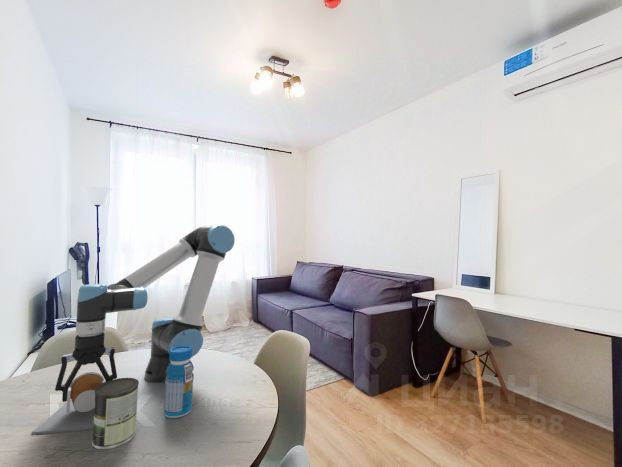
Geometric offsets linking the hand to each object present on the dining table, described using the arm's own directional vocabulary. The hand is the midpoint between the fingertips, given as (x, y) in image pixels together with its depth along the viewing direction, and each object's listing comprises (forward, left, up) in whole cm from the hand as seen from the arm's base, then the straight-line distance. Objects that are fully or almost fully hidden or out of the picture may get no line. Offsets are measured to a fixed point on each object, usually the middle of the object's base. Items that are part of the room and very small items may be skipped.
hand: (86, 406), depth 94 cm
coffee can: (-14, +14, -2) cm, 20 cm away
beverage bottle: (-28, +3, -2) cm, 28 cm away
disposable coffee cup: (-3, +7, +5) cm, 9 cm away
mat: (0, 0, -2) cm, 2 cm away
